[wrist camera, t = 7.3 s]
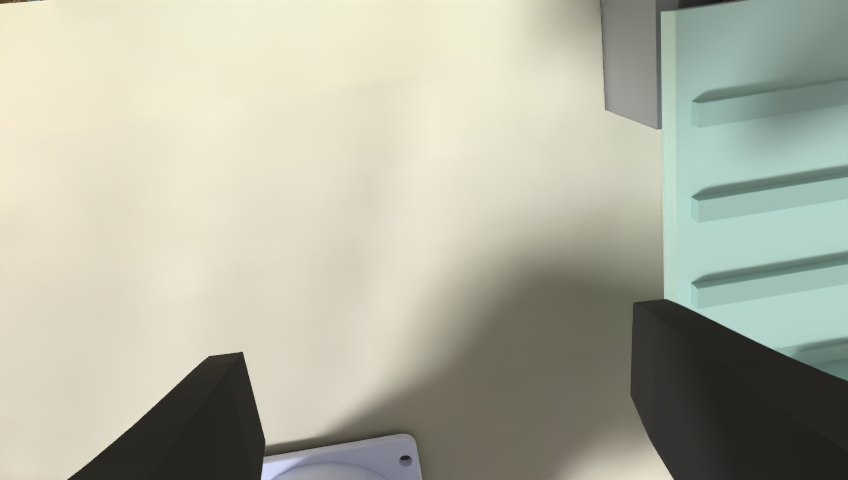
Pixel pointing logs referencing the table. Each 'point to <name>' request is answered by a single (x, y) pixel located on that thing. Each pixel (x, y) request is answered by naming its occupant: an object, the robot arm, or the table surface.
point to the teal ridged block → (759, 171)
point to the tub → (636, 56)
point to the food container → (13, 0)
